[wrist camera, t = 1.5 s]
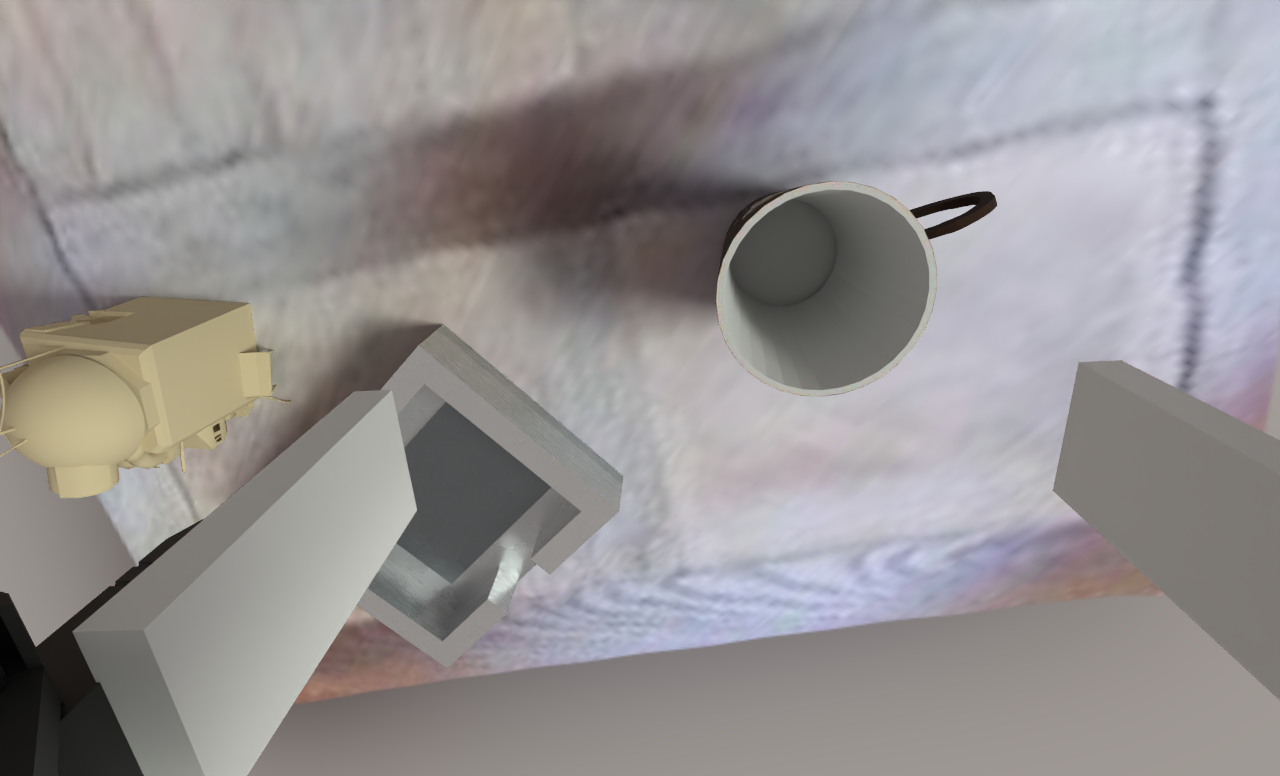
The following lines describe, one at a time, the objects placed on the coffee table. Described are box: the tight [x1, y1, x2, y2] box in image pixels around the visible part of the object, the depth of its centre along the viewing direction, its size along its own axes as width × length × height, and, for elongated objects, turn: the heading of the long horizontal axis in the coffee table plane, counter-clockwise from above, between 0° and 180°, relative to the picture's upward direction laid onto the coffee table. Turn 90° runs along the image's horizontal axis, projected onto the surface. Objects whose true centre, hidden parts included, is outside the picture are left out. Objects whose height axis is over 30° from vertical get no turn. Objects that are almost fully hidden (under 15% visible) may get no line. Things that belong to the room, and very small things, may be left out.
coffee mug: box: [716, 181, 997, 397], centre depth 30 cm, size 12×9×10 cm
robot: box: [0, 296, 291, 498], centre depth 32 cm, size 10×8×15 cm
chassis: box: [357, 325, 623, 668], centre depth 39 cm, size 14×16×4 cm
